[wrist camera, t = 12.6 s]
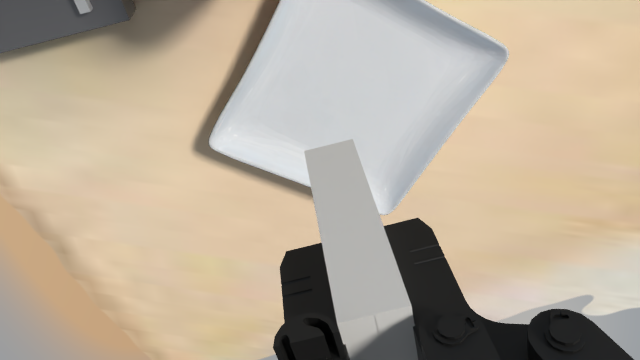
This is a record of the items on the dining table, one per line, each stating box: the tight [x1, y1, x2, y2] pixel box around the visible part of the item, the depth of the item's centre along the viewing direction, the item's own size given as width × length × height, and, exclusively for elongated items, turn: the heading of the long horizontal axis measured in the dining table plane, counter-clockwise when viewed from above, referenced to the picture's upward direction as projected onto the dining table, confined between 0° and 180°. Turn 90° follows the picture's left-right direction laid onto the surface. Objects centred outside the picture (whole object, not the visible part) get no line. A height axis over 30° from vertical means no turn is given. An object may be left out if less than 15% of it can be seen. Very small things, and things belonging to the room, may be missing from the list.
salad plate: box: [209, 0, 509, 215], centre depth 49 cm, size 21×21×3 cm
